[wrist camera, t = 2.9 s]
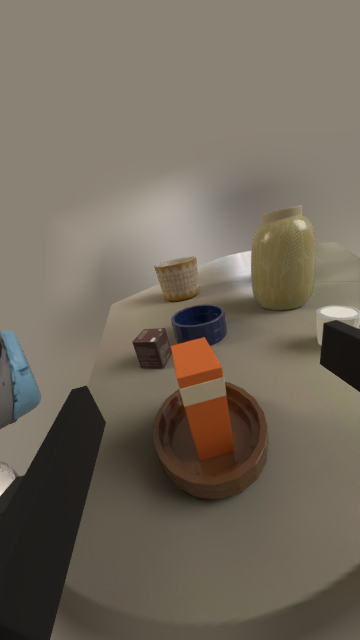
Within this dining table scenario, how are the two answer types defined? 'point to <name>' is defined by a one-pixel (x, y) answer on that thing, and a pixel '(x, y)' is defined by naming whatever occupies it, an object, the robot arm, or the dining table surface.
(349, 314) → the white cylinder
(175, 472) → the bowl
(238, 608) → the dining table surface
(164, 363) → the box
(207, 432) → the packet
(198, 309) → the pot
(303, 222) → the vase
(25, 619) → the robot arm
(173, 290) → the planter
